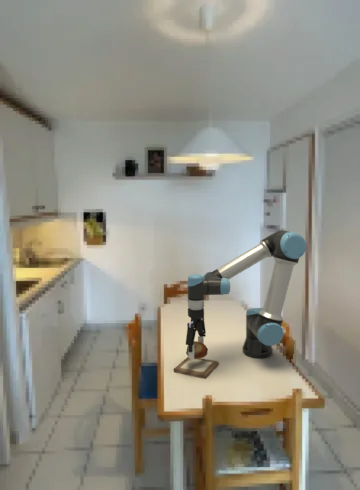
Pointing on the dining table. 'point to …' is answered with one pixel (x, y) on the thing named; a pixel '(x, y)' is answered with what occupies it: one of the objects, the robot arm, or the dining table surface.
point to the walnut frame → (196, 367)
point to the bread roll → (199, 350)
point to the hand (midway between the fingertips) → (196, 353)
